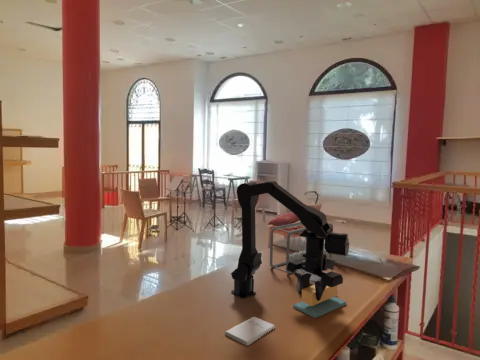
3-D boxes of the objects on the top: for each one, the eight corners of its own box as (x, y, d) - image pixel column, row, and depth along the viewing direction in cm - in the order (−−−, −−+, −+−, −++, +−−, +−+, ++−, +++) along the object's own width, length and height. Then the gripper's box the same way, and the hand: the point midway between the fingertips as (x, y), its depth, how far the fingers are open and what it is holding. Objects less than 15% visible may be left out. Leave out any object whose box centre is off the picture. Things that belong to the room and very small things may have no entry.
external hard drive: (224, 336, 105) (253, 320, 114) (247, 347, 99) (274, 330, 108) (225, 331, 104) (253, 315, 114) (247, 341, 99) (275, 324, 108)
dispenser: (312, 298, 129) (313, 282, 128) (295, 291, 135) (296, 275, 134) (332, 291, 136) (332, 275, 135) (314, 284, 142) (315, 269, 141)
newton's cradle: (313, 255, 178) (315, 218, 176) (332, 260, 170) (333, 222, 168) (269, 268, 159) (270, 227, 157) (287, 275, 151) (288, 232, 149)
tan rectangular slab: (312, 306, 117) (312, 293, 117) (301, 301, 121) (301, 289, 120) (336, 295, 126) (337, 283, 125) (326, 291, 129) (326, 280, 129)
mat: (315, 318, 115) (315, 314, 115) (293, 307, 122) (293, 304, 122) (346, 304, 125) (346, 301, 125) (324, 295, 132) (324, 292, 132)
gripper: (354, 253, 117) (352, 301, 119) (308, 240, 131) (307, 283, 133) (332, 260, 110) (330, 311, 112) (286, 245, 124) (285, 290, 126)
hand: (312, 297), depth 121 cm, fingers closed on tan rectangular slab, 4 cm apart
